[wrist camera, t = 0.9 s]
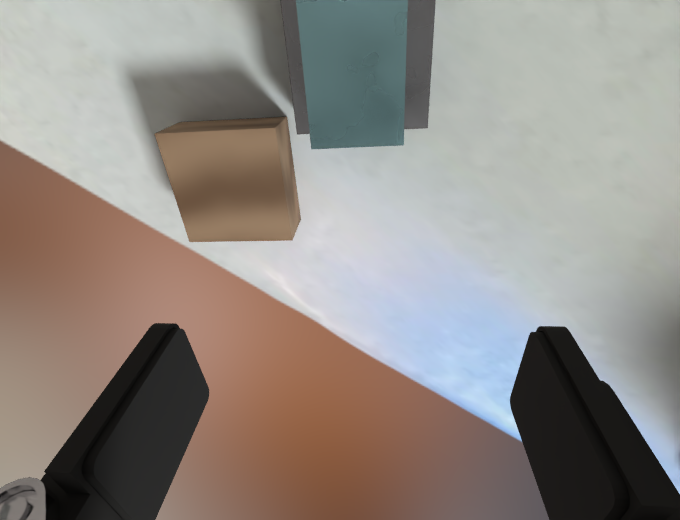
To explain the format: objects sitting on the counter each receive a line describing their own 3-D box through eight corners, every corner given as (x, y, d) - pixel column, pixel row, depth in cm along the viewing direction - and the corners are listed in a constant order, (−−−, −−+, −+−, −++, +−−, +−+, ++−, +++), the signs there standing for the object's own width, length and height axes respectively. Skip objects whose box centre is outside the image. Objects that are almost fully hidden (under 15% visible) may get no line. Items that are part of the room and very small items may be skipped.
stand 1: (179, 122, 30) (154, 133, 26) (287, 116, 29) (275, 127, 25) (207, 221, 34) (189, 241, 31) (300, 219, 33) (292, 240, 30)
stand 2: (290, -20, 24) (277, -29, 21) (429, -33, 23) (438, -44, 20) (306, 122, 29) (297, 134, 25) (421, 116, 28) (427, 128, 24)
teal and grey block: (312, -21, 21) (291, -38, 16) (400, -29, 20) (409, -50, 15) (324, 125, 25) (311, 149, 20) (397, 121, 24) (403, 145, 19)
